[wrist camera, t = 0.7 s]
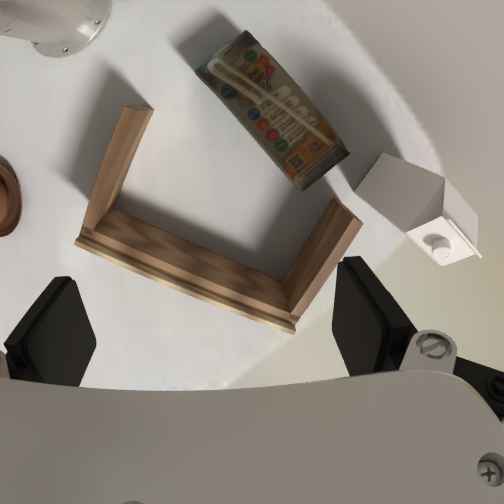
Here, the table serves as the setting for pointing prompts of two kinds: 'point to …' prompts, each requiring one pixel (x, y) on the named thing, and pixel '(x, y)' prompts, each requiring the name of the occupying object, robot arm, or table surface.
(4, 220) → the cup and saucer
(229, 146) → the table surface
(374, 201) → the milk carton
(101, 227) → the frame
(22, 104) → the table surface
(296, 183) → the beverage carton
